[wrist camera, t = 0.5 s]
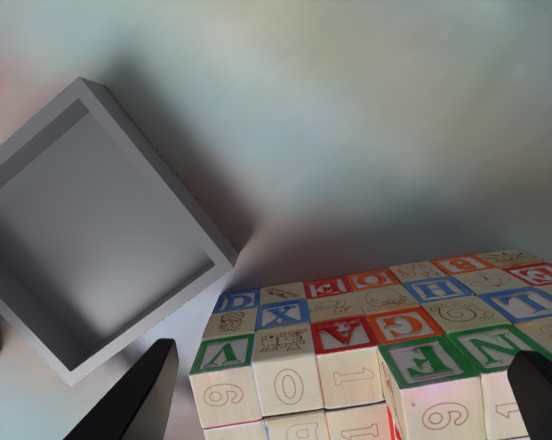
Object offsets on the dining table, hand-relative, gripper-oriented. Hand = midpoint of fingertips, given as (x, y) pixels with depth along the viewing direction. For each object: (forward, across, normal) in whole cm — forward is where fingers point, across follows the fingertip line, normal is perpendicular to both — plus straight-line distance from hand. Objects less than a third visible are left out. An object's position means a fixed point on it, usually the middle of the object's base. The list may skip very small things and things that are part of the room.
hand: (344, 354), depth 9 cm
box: (+14, +14, +6) cm, 21 cm away
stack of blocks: (+13, -5, +11) cm, 18 cm away
